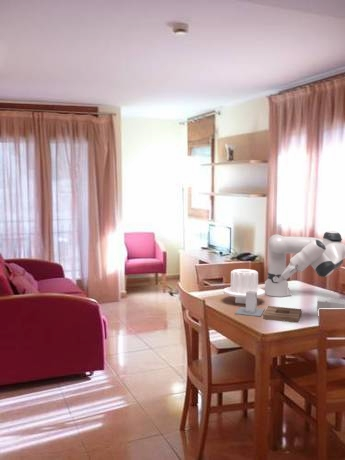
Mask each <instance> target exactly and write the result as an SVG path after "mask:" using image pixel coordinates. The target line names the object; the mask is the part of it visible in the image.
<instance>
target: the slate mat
mask: <svg viewBox="0 0 345 460" xmlns="http://www.w3.org/2000/svg"><path fill="white" fill-rule="evenodd" d="M265 311H266V309H264V308H257V311H256V312H255V313H247V312H246V306H240V307H239V308H238V309H237V310H236V311H235V312H234V315H240V316H248V317H257V318H258V317H259V318H260V317H262V315H263V314H264V312H265Z"/></svg>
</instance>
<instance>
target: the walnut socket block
mask: <svg viewBox="0 0 345 460" xmlns="http://www.w3.org/2000/svg"><path fill="white" fill-rule="evenodd" d="M262 315H263V316H262V319H263V320H270V321H280V322H289V323H297V324H299V321H300V319H301V315H302V308H296V307H294V308H293V307H283V306H272V305H268V306H267V307H266V309H265V310H264V312H263V314H262Z"/></svg>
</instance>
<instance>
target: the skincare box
mask: <svg viewBox="0 0 345 460" xmlns="http://www.w3.org/2000/svg"><path fill="white" fill-rule="evenodd" d="M316 303H317V305H316V308H317V309H316V311H318V309H319V308H345V298H333V297H325V296H324V297H323V296H317V299H316Z"/></svg>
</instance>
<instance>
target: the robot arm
mask: <svg viewBox="0 0 345 460" xmlns="http://www.w3.org/2000/svg"><path fill="white" fill-rule="evenodd" d="M342 240H343V238H342V236H341V234H340V232H337V231H336V230H329V231H326V232H324V233H323V236H322V238H319V237H310V236H299V235H298V236H297V235H296V236H285V235H281V234H278V233H276V234H275V233H274V234H272V235H270V237H269V239H268V269H267V270H268V272H267V279H266V280H265V281H264V289H263V290H264V291H265V295H267V296H270V297H280V298H281V297H289V296H290V297H291V296H292V292H291V290H290V287H289V281H287V280H288V279H289V278H291V277H292V276H293V275H294V274H295V273H302V272H303V271H305V270H306V269H307V268H308V267H310V266H311V267H312V268H313V270H314V271H315V272H316V274H317V275H318V277H321V278H322V277H323V278H326V277H329V276H330V275H332V274H333V273H334V271H336V270H337V269H338V268H339V267H340V266H342V265H343V263H344V259H345V243H342ZM288 254H294V255H293V256H292V257H291V258H290V259H289V261H290V262H289V264H288V265H287V256H286V255H288Z"/></svg>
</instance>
